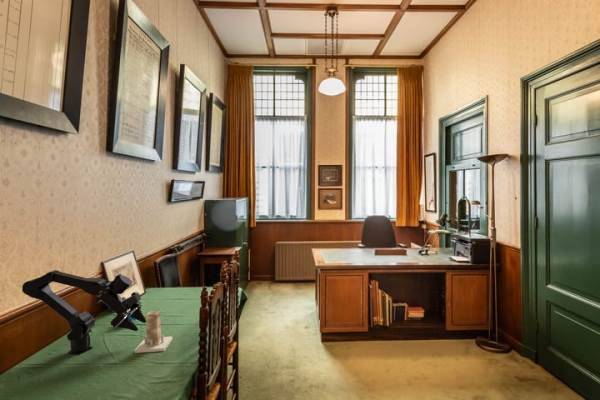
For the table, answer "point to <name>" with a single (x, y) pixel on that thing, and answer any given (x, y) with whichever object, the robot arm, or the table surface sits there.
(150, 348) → the pin plate
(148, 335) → the maple block
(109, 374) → the table surface
